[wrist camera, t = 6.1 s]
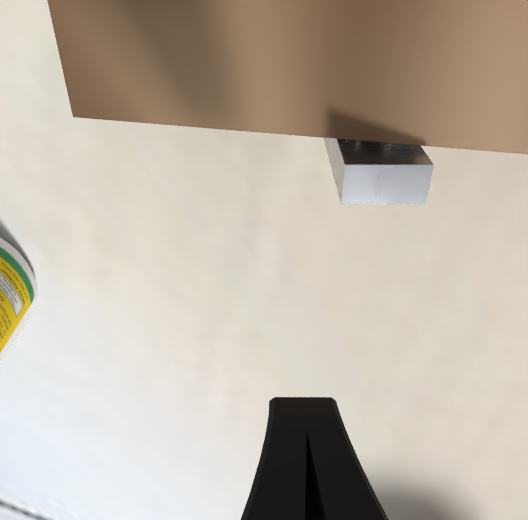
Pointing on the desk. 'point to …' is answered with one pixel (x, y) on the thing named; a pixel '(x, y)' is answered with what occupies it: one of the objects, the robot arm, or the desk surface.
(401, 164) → the stand
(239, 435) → the desk surface
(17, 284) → the supplement bottle
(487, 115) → the board
